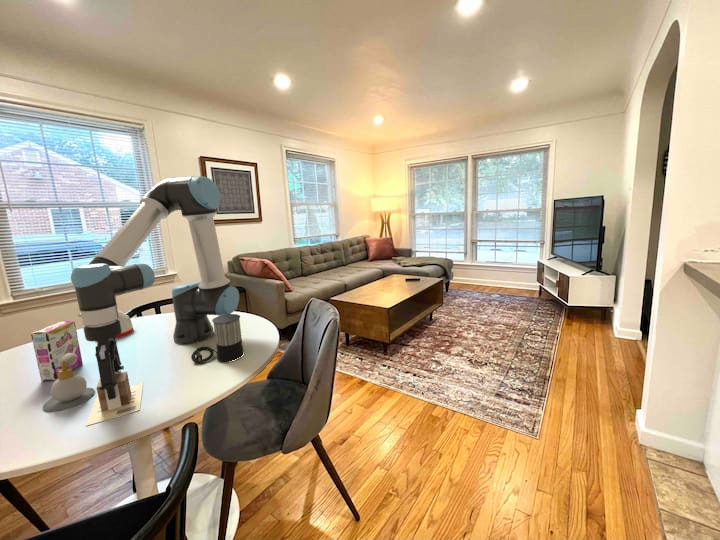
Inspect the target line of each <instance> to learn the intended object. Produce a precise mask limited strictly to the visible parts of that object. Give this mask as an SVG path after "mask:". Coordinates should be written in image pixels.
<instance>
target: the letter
mask: <svg viewBox="0 0 720 540" xmlns="http://www.w3.org/2000/svg"><path fill="white" fill-rule="evenodd" d="M143 387H144V383H142V382H141V383H139V384H134V385H130V390H131V397H130V403H129V404H127V405H123V406H121V407H120V408H116V409H113V410H106V411H101V407H100V402H99V397H98V394H97V396H96V398H95V401H94V404H93V406H92V409H91V411H90V414H89V416H88V418H87V422H86V425H85V427H89V426H92V425H95V424H98V423H102V422H105V421H109V420H111V419H115V418H119V417H122V416H125V415H129V414H132V413H135V412H139V411H140V409H141V405H142V404H141V403H142V394H143Z"/></svg>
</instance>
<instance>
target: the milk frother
mask: <svg viewBox="0 0 720 540" xmlns="http://www.w3.org/2000/svg"><path fill="white" fill-rule="evenodd" d="M240 319H241V315H239V314H235V313H231V314H227V315H221V316H218V315H217V316H216V317H214V318H212V320H211V322H213V329H214V337H215V345H216V346H215V347H216V349H214V348H213V347H210V346H200V347H198V348H196V349H195V350H193V352H192V353H191V357H190V358H191V360H192V362H193V363H197V364H198V363H199V364H202V363H206V362H210V360H212V359H213V357H214V355H215V353H216V355H217V356H216V360H217V361H218V362H219V361H220V363H230V362H229V361H232V360H235V359H237V358H239V357H241V356H242V355H243V352H244V346H243V339H242V330H241V321H240ZM203 351H207V352H209V356H207V357H204V358H203V355H202V354H201V352H203ZM232 362H233V361H232Z"/></svg>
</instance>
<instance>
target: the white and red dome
mask: <svg viewBox="0 0 720 540" xmlns="http://www.w3.org/2000/svg"><path fill="white" fill-rule="evenodd" d="M118 313H119V318H118V319H117V320H119V321H120V325H121V330H122V332H121V333H120V334H119V335H118V336H116V337H115V338H116V339H119V338H122V337H125V336H128V335H130V334H131V333H133V332H134V326H133V323H132V319H131V318H130V316H129V315H128V314H126V313H124V312H123V311H122V310H120V309H118Z"/></svg>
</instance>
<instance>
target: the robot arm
mask: <svg viewBox="0 0 720 540" xmlns="http://www.w3.org/2000/svg"><path fill="white" fill-rule="evenodd" d="M221 201H222V196H221V192H220V189H219V186H217V184H216V182H214V181H213V180H212V179H211V178H209V177H207V176H198V175H197V176H196V175H194V176H185V177H184V176H183V177H181V176H180V177H170V178H169V177H168V178H166V179H163V180H162V181H160V182H158V183H157V184H156V185H154V186H153V187H151V188H150V189H149V190H148V192H146V193H145V194H144V196H143V197H141V199H140V200H139V205H140V206H138V208H136V210H134V212H133V213H132V214H131V215H130V217H128V219H127V220H126V221H125V222H124V223H123V225H122V226H120V228H119V229H118V230H117V232H115V234H114V235H113V236H112V237H111V238H110V240H108V242H107V243H106V244H105V245H104V246H103V247H102V249H101V250H100V251H99V252H98V253H97V254H96V256H95V257H94V258H93V259H92V260H91V261H90V262H89V263H88V264H83V265H78V266H76V267H74V268H73V270H72V272H71V274H70V281H71V283H72V285H73V287H74V290H75V296H76V299H77V300H76V301H77V305H78V308H79V313H78V314H77V317H78V318H81V323H82V325H83V328H82V329H83V333H84V338H85V340H86V341H88V342H96V343H97V344H96V346H95V354H94V355H95V358H96V362H97V366H98V373H99V380H101V386H102V387H100V390H104V391H105V396H106V401H107V405H108V410H113V409H116V408H120V407H121V406H122V405H121V400H120V395H119V390H118V385H117V384H116V380H115V374H118V373H122V370H124V368H125V367H124V365H122V362H121V357H120V354H119V353H120V352H119V349H118V345H117V342H118V341H117V338H115V337H116V336H118V335H119V334H120V333H121V332H122V330H121V325H120V321H119V320H117V319H118V318H119V313H118V310H119V309H118V304H117V299H116V297H118V296H121V295H125V294H129V293H132V292H136V291H142V290H145V289H147V288H150V287H151V286H153V284H154V283H155V280H156V276H155V270H153V268H152V267H151V265H149V264H146V263H135V264H131V265H127V263H128V262H129V261H130V259H131V258H132V257H133V256H134V255H135V253H136V252H137V251H138V250H139V248H140V247H142V244H143V243H144V242H145V241H146V239H147V238H148V237H149V236H150V235H151V233H152V232H153V231H154V229H155V228H156V226H157V225H158V224H159V223H160V222H161V220H162V219H163V220H164V219H167V218H168V217H169V215H171V213H174V212H176V211H181V212H180V213H181V216H182V217H183V218H185V219H186V220H187V221H188V226H189V230H190V231H189V232H190V234H191V239H192V244H193V249H194V252H195V257H196V261H197V266H198V271H199V275H200V279H201V281H192V282H186V283H184V284H179V285H176V286H174V287H173V288H172V290H171V298H172V300H171V301H172V305H173V311H174V312H173V313H174V317H175V327H174V331H173V336H172V337H173V341H174V343H176V344H179V343H182V345H183V343H188V344H193V342H195V343H198V342H197V341H199V342H202V341H205V340H207V339H206V338H208V337H210V336H211V335H212V334H213V333H214V334H215V331H214V326H213V325H212V323H211V321H210V319H209V318H208V316H217V317H218V316H221V315H227V314H233V313H234V311H236V309H237V307H238V305H239V301H240V292H239V289H237V287H235V286H231V285H232V284H231V280H230V278H227V277H226V276H225V275H226V274H225V271H224V265H223V259H222V255H221V249H220V245H219V239H218V235H217V229H216V224H215V221H214V220H215V219H214V217H215V216H216V214H217V208H219V207H220V204H221ZM214 334H213V335H214ZM213 335H212V336H213ZM212 336H211V337H212ZM211 337H210V338H211ZM204 339H205V340H204ZM208 339H209V338H208ZM201 340H202V341H201Z"/></svg>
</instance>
